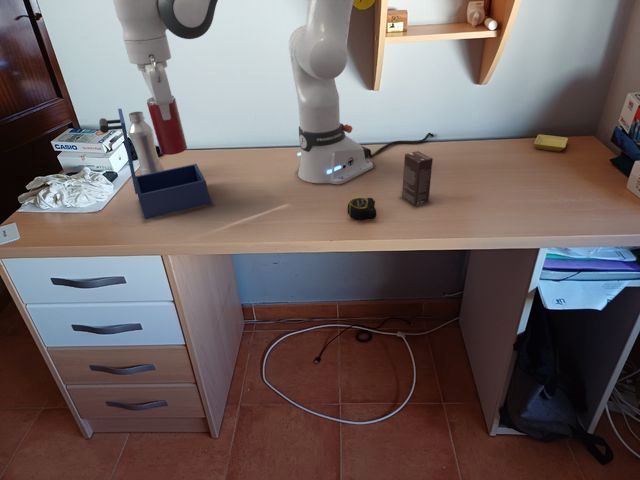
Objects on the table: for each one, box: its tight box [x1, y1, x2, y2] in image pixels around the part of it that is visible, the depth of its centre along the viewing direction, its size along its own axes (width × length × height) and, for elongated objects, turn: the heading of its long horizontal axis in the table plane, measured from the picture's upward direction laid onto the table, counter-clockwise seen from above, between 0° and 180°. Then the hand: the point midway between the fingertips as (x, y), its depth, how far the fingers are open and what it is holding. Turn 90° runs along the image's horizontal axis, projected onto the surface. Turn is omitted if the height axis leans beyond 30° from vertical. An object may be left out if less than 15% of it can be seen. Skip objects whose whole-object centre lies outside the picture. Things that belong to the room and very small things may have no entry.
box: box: [401, 150, 434, 207], centre depth 111 cm, size 6×4×12 cm
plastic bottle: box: [128, 111, 165, 175], centre depth 128 cm, size 6×7×20 cm
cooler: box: [135, 163, 211, 220], centre depth 118 cm, size 17×13×7 cm
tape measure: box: [346, 197, 377, 222], centre depth 108 cm, size 7×7×4 cm
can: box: [146, 95, 188, 156], centre depth 106 cm, size 6×6×12 cm
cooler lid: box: [98, 108, 139, 195], centre depth 108 cm, size 17×13×5 cm
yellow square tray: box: [533, 133, 569, 152], centre depth 138 cm, size 9×9×2 cm
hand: (164, 114), depth 105 cm, fingers closed on can, 6 cm apart
